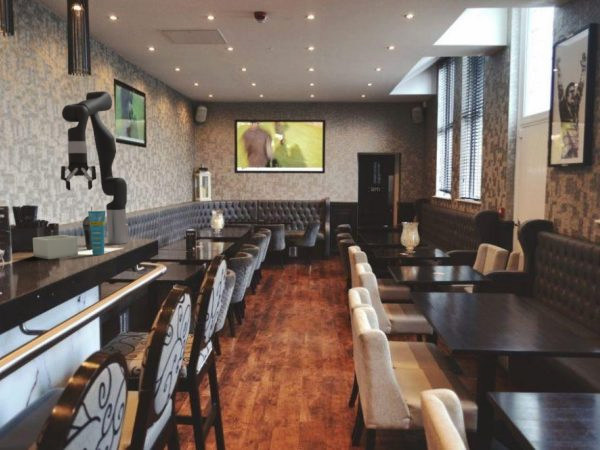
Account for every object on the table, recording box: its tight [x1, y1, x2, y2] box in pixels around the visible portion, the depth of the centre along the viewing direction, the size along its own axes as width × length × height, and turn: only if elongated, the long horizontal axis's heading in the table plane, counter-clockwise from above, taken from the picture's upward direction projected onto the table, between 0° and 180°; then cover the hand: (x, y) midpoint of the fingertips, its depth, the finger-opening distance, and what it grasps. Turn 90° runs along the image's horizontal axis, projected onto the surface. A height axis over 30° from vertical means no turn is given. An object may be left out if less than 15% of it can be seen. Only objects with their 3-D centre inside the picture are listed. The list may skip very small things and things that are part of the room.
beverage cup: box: [82, 206, 93, 250], centre depth 254 cm, size 7×7×20 cm
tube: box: [87, 210, 106, 256], centre depth 236 cm, size 7×5×19 cm, turn 98°
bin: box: [32, 234, 79, 260], centre depth 234 cm, size 13×13×8 cm
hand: (79, 189), depth 235 cm, fingers open, 8 cm apart
